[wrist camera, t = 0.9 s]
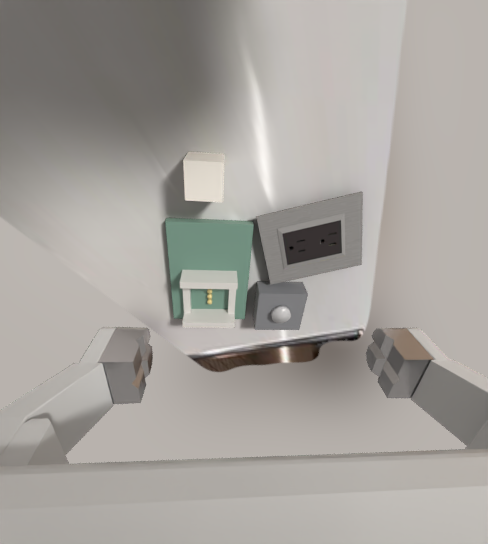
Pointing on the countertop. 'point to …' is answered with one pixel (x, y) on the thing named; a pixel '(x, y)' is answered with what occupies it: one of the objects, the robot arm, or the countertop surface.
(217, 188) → the plug
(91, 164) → the countertop surface
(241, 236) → the board
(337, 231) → the electrical outlet
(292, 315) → the grey push button
